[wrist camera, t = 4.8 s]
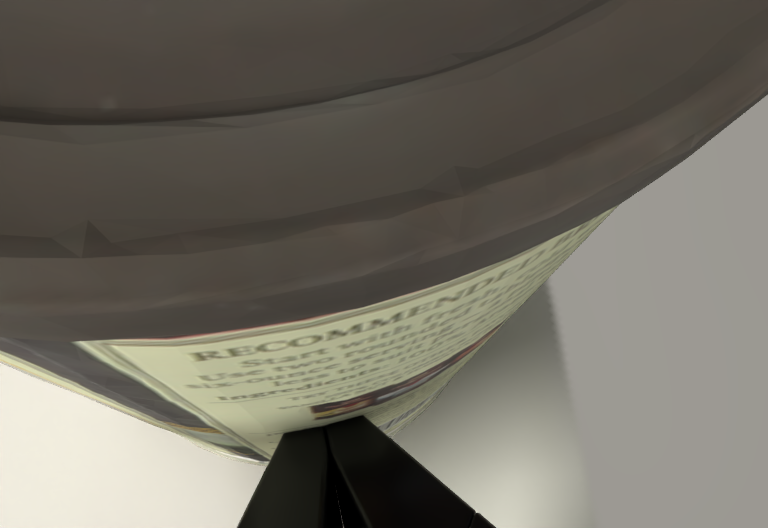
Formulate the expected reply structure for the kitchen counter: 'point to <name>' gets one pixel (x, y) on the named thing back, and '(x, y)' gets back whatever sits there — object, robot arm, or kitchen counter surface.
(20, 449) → the kitchen counter surface
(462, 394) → the kitchen counter surface
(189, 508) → the kitchen counter surface
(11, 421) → the kitchen counter surface
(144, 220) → the coffee can
